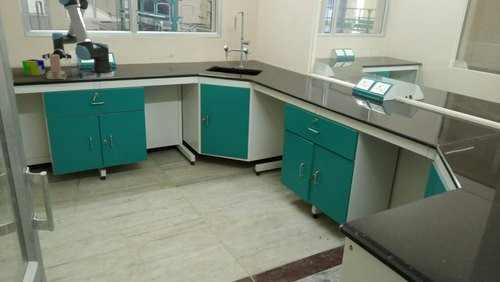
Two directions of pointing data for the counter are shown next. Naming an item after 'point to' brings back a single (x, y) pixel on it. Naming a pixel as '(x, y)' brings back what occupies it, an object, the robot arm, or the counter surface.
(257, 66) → the counter surface
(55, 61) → the pillar block
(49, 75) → the pedestal
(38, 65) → the puzzle toy
